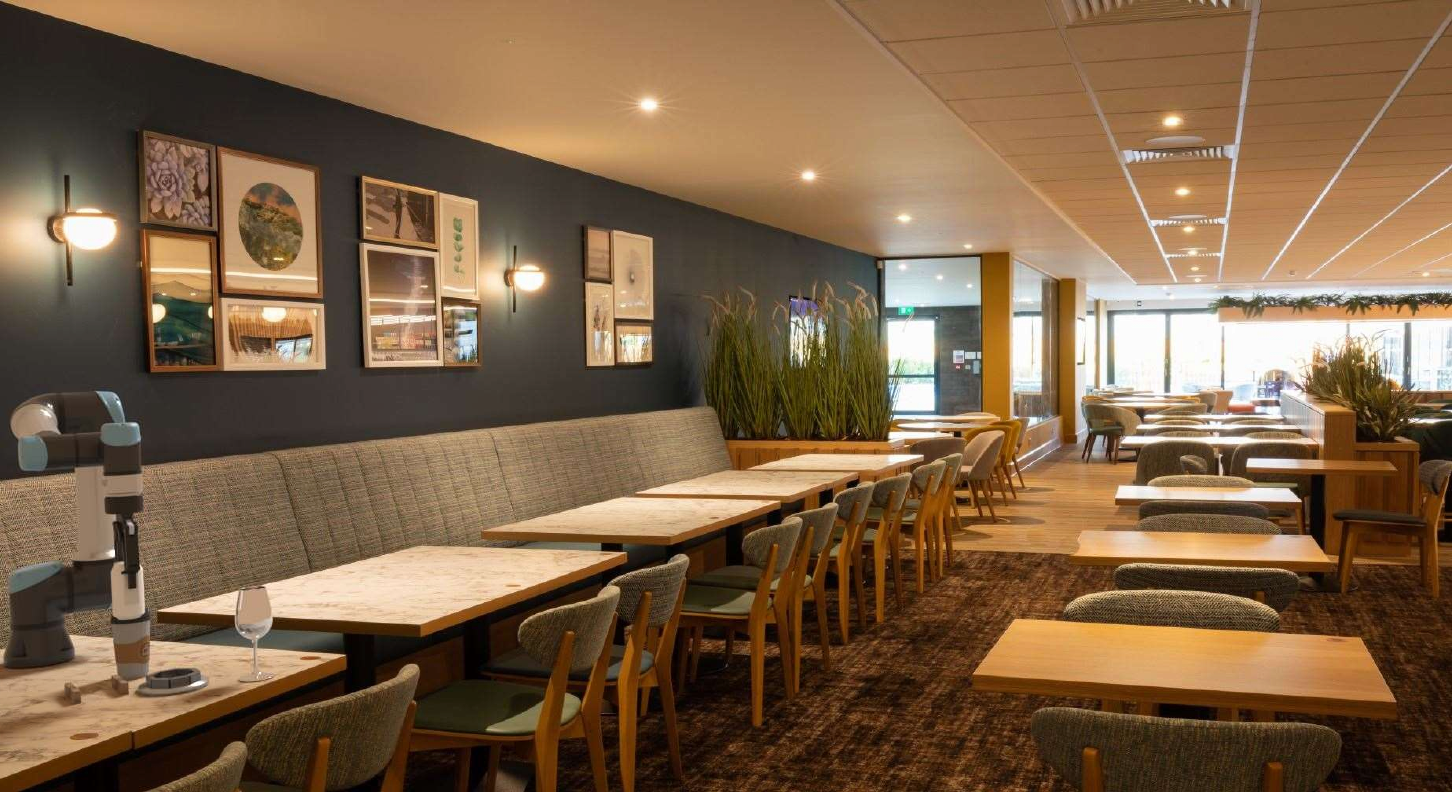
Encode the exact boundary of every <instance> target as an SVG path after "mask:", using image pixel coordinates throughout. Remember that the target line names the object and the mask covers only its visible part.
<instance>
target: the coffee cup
mask: <svg viewBox="0 0 1452 792" xmlns="http://www.w3.org/2000/svg"><path fill="white" fill-rule="evenodd" d="M151 619H152V617H151V612H149V608H148V607H145V613H144V614H142V615H141V616H140V617H139V618H135V619H128V620H119V619H118V618H116V617H114V616H113V614H112V615H111V617H110V624H111V631H112V638H113V641H112V643H113V651H114V658H115V664H116V672H117V674H116V675H118V676H120V677H121V678H123V679H124V680H125V681H126V680H129V681H130V680H135V679H141V678H144V677H145V678H146V676H147V675H149V674H148V673H150V658H151V657H150V656H151V655H150V654H151V651H150V649H151V636H150V635H151Z"/></svg>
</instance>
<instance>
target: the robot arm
mask: <svg viewBox="0 0 1452 792" xmlns="http://www.w3.org/2000/svg"><path fill="white" fill-rule="evenodd" d="M9 421H10V422H9V423H10V425H9V426H10V428H11V429H10V430H11V432H12V433H13V435H14V436H15V437H16V438H17V440H18V442H17V451H18V453H17V454H18V463H19V467H20V468H19V469H21V470H23V471H27V472H28V471H29V472H30V471H35V472H42V471H49V470H50V471H52V470H62V469H63V470H64V469H65V470H66V469H74V477H75V480H74V482H75V499H76V500H75V501H76V520H77V521H76V522H77V524H76V525H77V541H78V542H77V544H78V546H77V547H78V551H77V552H76V553H75V554H74V555H73V556H72V557H71V563H72V565H69V566H64V564H63V563H62V561H60V560H54V561H53V560H52V561H46V562H41V563H36V564H32V565H27V566H24V567H20V568H19V569H16V570H14V571H13V572H10V574H9V576H8V580H7V581H8V589H7V594H8V601H9V603H8V605H9V629H10V630H9V631H10V633H9V636H8V639H7V643H6V645H5V649H4V653H3V657H2V660H3V666H4V668H9V669H11V668H12V669H27V668H28V669H29V668H37V667H38V668H39V667H44V666H51V665H52V666H53V665H56V664H61V663H63V662H64V663H65V662H68V661H70V660H72V659H74V658H75V657H76V651H75V648H76V647H75V646H74V643H73V641H72V638H71V636H70V634H69V632H68V629H67V627H66V615H70V614H80V613H86V612H93V611H101V610H102V611H103V610H105V611H108V610H111V609H112V610H113V607H112V587H111V570H112V568H113V566H114V563H116V562H120V561H124V569H125V570H124V571H122V572H121V575H123V576H124V597H125V605H130V604H137V603H139V583H138V571H140V565H141V563H140V561H141V560H140V548H139V547H140V546H139V525H138V523H137V521H136V520H135V519H134V513H135V514H137V513H142V512H143V511H144V509H145V507H144V505H145V504H144V495H143V494H141V493H142V492H143V491H144V483H143V481H144V480H143V473H142V452H141V451H142V450H141V449H142V448H141V445H142V444H141V440H142V436H141V433H140V431H141V430H140V426H139V424H138V423H137V422H131V421H130V422H126V419H125V413H124V409H123V406H122V402H121V399H120V398H119V396H118V394H116V393H115V392H112V391H100V390H99V391H97V390H95V391H80V392H79V391H78V392H60V393H58V392H57V393H55V392H51V393H44V394H41V395H37V396H33V397H31V398H29V399H28V400H25V401H24V402H22V403H20V404H19V406H17V407H16V408H15V410H14V411H13V412H12V414H11V416H10V420H9Z"/></svg>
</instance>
